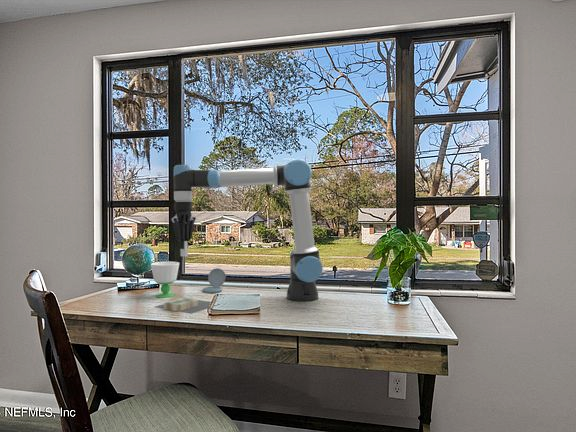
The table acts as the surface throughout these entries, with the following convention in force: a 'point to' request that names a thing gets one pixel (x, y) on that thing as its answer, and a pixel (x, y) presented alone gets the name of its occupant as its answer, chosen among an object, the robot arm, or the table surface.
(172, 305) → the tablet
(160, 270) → the cup
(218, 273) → the grey upright round piece
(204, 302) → the mat
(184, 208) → the robot arm
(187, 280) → the table surface
